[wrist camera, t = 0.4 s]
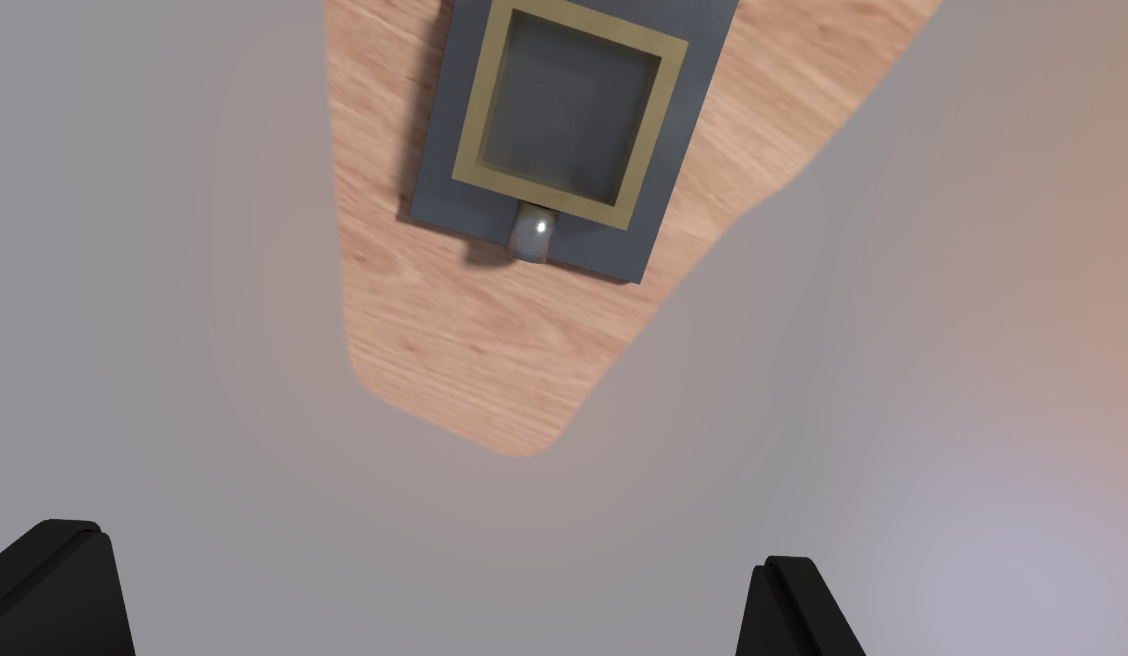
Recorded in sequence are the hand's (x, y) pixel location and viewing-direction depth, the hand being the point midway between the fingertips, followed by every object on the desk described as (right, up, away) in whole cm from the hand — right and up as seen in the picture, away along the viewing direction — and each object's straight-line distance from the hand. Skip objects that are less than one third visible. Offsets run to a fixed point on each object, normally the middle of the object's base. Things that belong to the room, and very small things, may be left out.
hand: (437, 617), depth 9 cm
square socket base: (+2, +16, +25) cm, 30 cm away
